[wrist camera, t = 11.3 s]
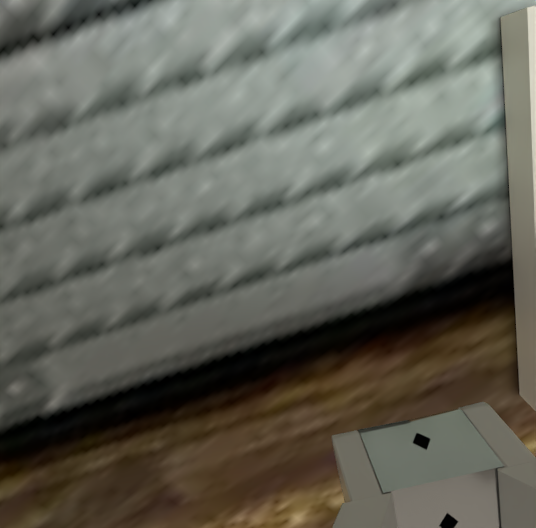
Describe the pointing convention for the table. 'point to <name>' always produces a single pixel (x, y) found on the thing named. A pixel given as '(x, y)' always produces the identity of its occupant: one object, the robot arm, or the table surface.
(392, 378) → the table surface
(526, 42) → the cutting board
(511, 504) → the robot arm
